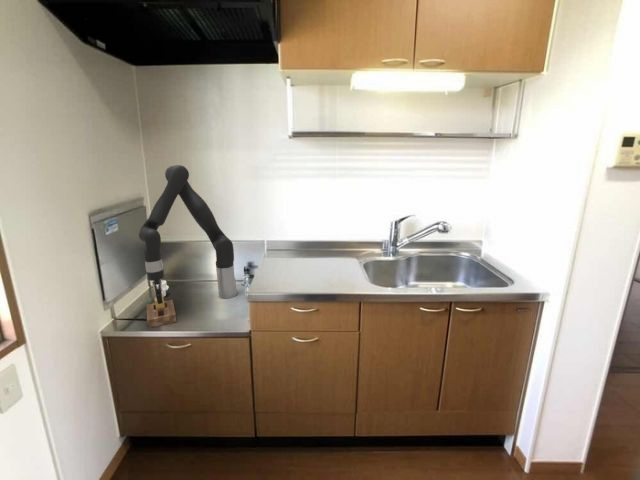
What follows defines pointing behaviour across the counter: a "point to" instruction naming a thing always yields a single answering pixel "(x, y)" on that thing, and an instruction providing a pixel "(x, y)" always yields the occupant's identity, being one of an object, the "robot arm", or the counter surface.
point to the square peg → (159, 306)
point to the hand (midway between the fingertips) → (159, 300)
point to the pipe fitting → (164, 288)
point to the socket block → (160, 314)
